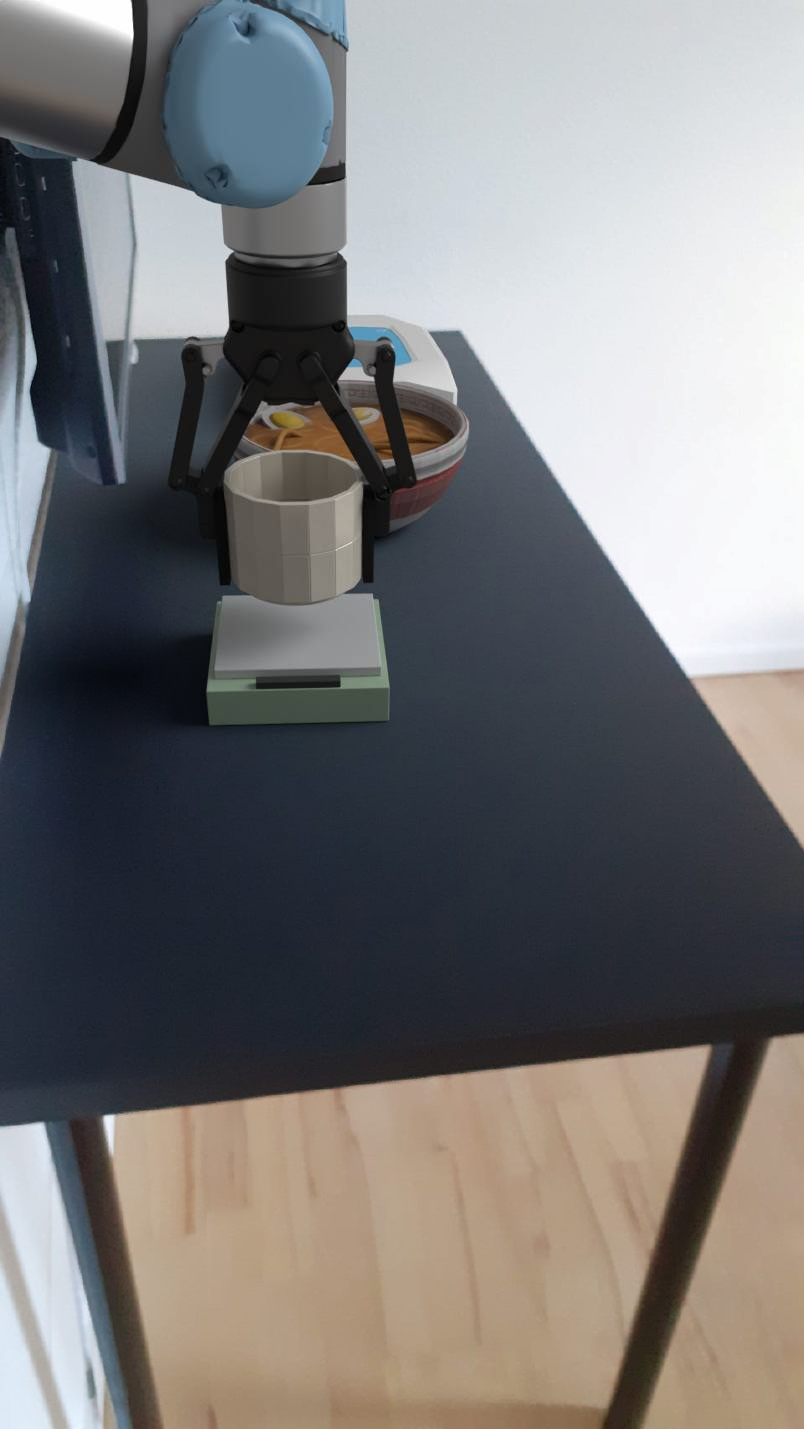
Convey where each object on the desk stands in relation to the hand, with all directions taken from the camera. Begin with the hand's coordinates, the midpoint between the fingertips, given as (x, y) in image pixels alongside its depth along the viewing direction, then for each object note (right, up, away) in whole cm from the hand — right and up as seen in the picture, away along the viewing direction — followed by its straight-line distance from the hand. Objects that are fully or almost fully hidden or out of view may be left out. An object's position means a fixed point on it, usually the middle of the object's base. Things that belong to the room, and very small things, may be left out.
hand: (297, 575), depth 79 cm
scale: (0, -7, +4) cm, 8 cm away
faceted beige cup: (0, 0, 0) cm, 0 cm away
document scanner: (+2, +30, +58) cm, 65 cm away
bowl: (+2, +9, +28) cm, 30 cm away
